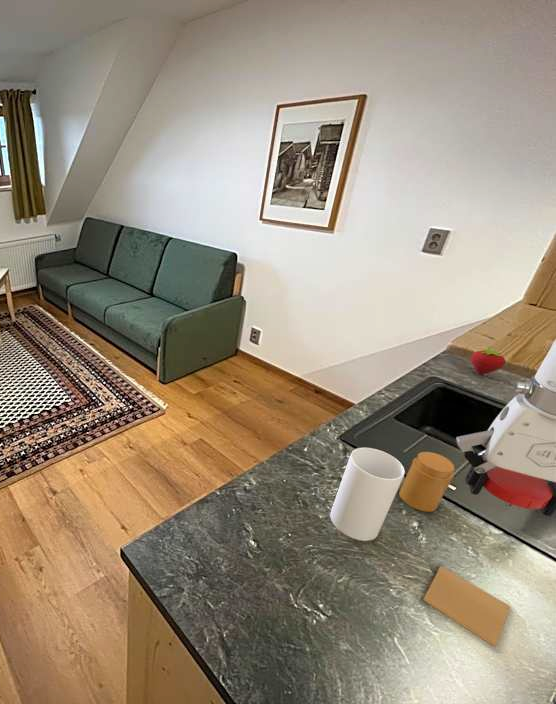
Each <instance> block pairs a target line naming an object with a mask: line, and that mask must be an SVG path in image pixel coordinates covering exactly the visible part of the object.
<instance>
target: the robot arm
mask: <svg viewBox="0 0 556 704" xmlns="http://www.w3.org/2000/svg"><path fill="white" fill-rule="evenodd" d="M512 391H513V392H516V393H518V394H517V395H515V396H514V397H513V398H512V399H511V400H510V401H509V402H508V403H507V404H506V405H505V407H504V408H503V409H502V410H501V411H500V412H499V414H498V415H497V416H496V417H495V418H494V419H493V421H492V423H491V424H490V426H488V427H489V428H488V429H487V430H484V431H478V432H474V433H468V434H464V435H460V436H456V437H455V442H456V445H457V447H458V448H459V450H460V451H461V454H463V456H464V457H465V460H467V461H468V463H469V464H470V465H471V467H470V468H469V470H468V472H467V474H466V476H465V478H464V481H465V484H466V485H468V487H469V491H470V494H471V495H475V496H477V495H479V494H480V493H481V491H482V489H483V488H484V484H485V482H486V480H487V479H488V474H487V471H489V470H491V469H493V468H495V467H499V468H503V469H506V470H510V471H513V472H517V473H521V474H525V475H528V476H532V477H536V478H540V479H543V480H544V481H547V484H548V485H549V486H550V487H551V489H552V491H553V496H552V498H551V499H550V501H549V502H548V503H547V504H546V506H545V507H543V508H542V509H540V511H541V513H542V514H543V515H544V516H547V517H551V516H552V515H553V514H554V513H555V511H556V338H555V339H554V341H553V343H552V345H551V347H549V350H548V352H547V353H546V355H545V357H544V359H543V360H542V362H541V365H540V366H539V368H538V369H537V371H536V372H535V375H534V376H531V377H530V379H529V380H528V381H523V382H521V381H515V382H514V383H513V385H512ZM480 445H482V447H484V448H485V449H484V450H482V451H480V452H478V453H477V451H476V450H475V449H474V448H473V447H475V446H480Z"/></svg>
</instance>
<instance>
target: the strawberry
mask: <svg viewBox="0 0 556 704" xmlns="http://www.w3.org/2000/svg"><path fill="white" fill-rule="evenodd" d="M492 348H493V346H492V347H490V348H489V349H487V348H486V349H484V348H480V350H477V351H475V352H473V353H472V354H471V356H470V362H471V364H472V366H473V368H474V370H475V371H476V373H477V374H478V375H480V376H484V375H487V374H490V373H494V372H496V371H498V370H500V369H502V368H503V367H504V366H505V365H506V359H505V357H504V356H503V355H502V353H501V352H499V351H498V350H493V349H492Z"/></svg>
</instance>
